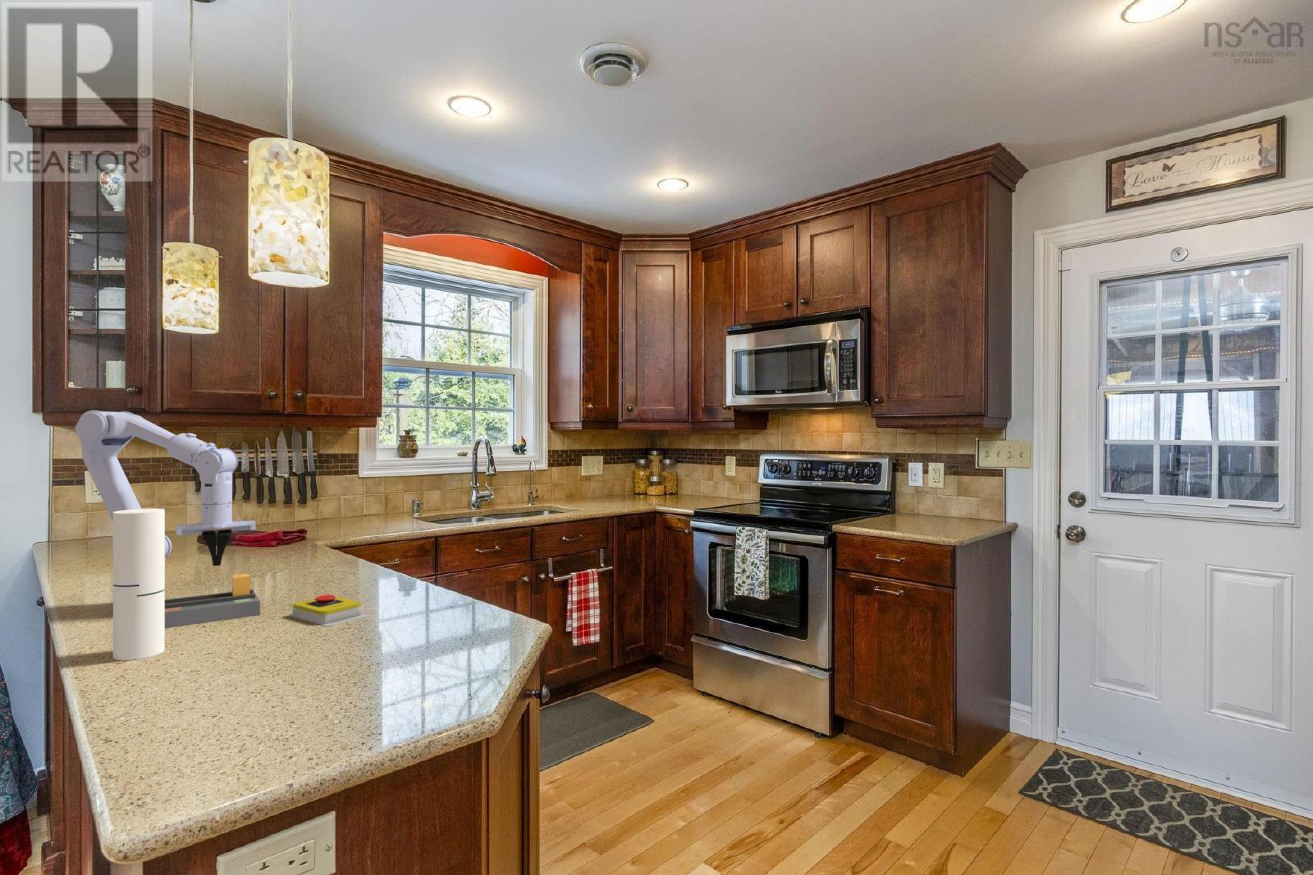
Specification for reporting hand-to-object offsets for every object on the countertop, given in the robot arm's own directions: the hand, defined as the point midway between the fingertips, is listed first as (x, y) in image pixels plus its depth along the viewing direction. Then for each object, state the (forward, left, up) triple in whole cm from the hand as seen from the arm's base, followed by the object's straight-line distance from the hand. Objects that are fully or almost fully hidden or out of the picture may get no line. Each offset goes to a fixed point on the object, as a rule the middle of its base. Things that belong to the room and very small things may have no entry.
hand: (216, 565), depth 147 cm
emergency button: (+21, +19, -10) cm, 30 cm away
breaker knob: (+6, +4, -6) cm, 10 cm away
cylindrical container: (+28, -13, -10) cm, 32 cm away
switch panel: (+6, -2, -9) cm, 11 cm away
